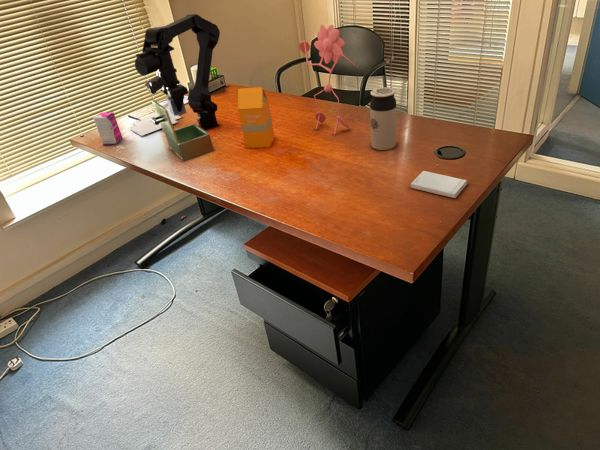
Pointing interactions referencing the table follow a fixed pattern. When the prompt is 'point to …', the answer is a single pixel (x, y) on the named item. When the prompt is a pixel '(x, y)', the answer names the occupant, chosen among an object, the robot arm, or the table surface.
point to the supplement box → (108, 128)
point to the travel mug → (383, 118)
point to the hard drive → (439, 184)
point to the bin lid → (164, 121)
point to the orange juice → (255, 117)
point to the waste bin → (190, 142)
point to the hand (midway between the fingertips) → (177, 109)
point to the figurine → (327, 61)
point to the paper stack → (150, 123)
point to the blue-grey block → (173, 107)
